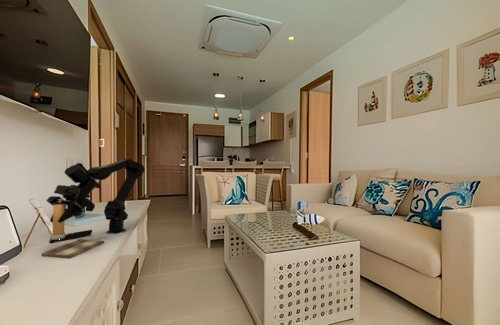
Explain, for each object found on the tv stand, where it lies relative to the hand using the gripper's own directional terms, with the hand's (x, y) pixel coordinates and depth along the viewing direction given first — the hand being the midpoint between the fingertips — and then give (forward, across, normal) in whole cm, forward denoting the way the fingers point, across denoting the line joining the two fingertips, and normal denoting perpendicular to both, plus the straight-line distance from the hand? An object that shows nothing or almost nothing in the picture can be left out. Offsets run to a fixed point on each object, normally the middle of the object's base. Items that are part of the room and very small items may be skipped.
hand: (55, 221), depth 83 cm
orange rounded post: (+4, 0, +6) cm, 7 cm away
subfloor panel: (+5, +3, +13) cm, 14 cm away
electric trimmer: (-2, -11, +20) cm, 23 cm away
